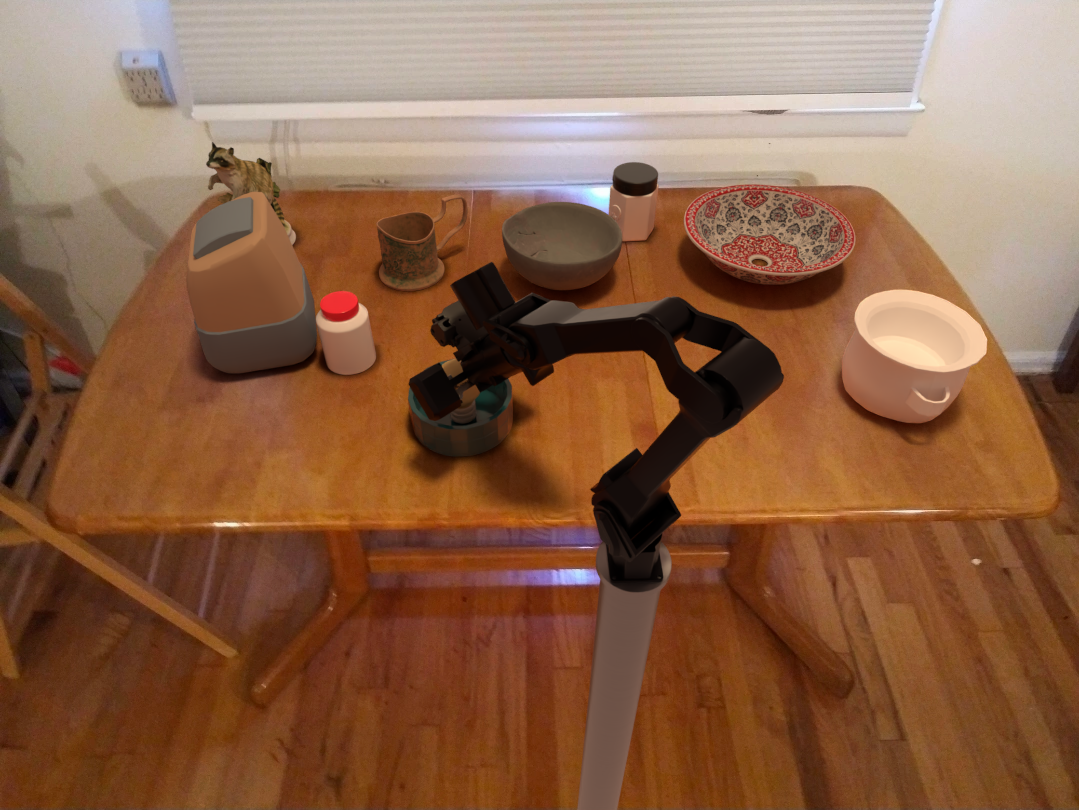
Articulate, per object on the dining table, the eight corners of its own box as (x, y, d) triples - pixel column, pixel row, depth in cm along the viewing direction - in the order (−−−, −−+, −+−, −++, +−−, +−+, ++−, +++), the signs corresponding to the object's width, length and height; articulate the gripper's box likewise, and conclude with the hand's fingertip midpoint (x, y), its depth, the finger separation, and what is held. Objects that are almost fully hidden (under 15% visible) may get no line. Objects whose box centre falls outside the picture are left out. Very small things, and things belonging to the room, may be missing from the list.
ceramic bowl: (712, 207, 155) (718, 169, 150) (860, 247, 145) (873, 209, 139) (652, 281, 137) (657, 242, 131) (817, 333, 127) (829, 293, 121)
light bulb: (482, 399, 115) (478, 346, 108) (488, 429, 110) (484, 376, 103) (439, 405, 114) (432, 352, 107) (443, 436, 109) (436, 383, 102)
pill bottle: (335, 340, 125) (322, 284, 118) (382, 345, 124) (372, 288, 117) (319, 372, 120) (304, 315, 112) (368, 377, 119) (356, 320, 111)
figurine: (215, 251, 144) (180, 148, 130) (266, 217, 152) (239, 117, 138) (262, 268, 140) (231, 164, 126) (312, 233, 148) (288, 132, 134)
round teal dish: (513, 455, 108) (512, 428, 104) (408, 458, 107) (403, 430, 103) (512, 384, 118) (511, 357, 114) (417, 386, 117) (412, 359, 114)
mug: (485, 266, 140) (482, 206, 132) (397, 298, 133) (388, 238, 125) (453, 237, 147) (448, 178, 139) (368, 267, 140) (357, 207, 132)
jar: (598, 226, 150) (602, 168, 141) (631, 213, 153) (636, 156, 145) (629, 247, 145) (634, 189, 136) (662, 234, 148) (669, 175, 140)
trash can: (214, 320, 129) (167, 193, 113) (317, 305, 132) (286, 179, 116) (210, 387, 117) (157, 256, 101) (323, 368, 120) (289, 238, 104)
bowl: (601, 322, 129) (605, 271, 122) (486, 298, 133) (483, 248, 126) (631, 257, 142) (636, 208, 135) (525, 237, 147) (525, 189, 140)
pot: (817, 343, 125) (837, 280, 116) (926, 345, 124) (955, 282, 116) (851, 443, 109) (878, 379, 101) (977, 447, 109) (1014, 382, 100)
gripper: (527, 265, 98) (475, 299, 112) (408, 329, 89) (367, 358, 102) (570, 342, 100) (514, 366, 113) (457, 413, 90) (411, 431, 104)
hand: (453, 378), depth 108 cm, fingers closed on light bulb, 6 cm apart
